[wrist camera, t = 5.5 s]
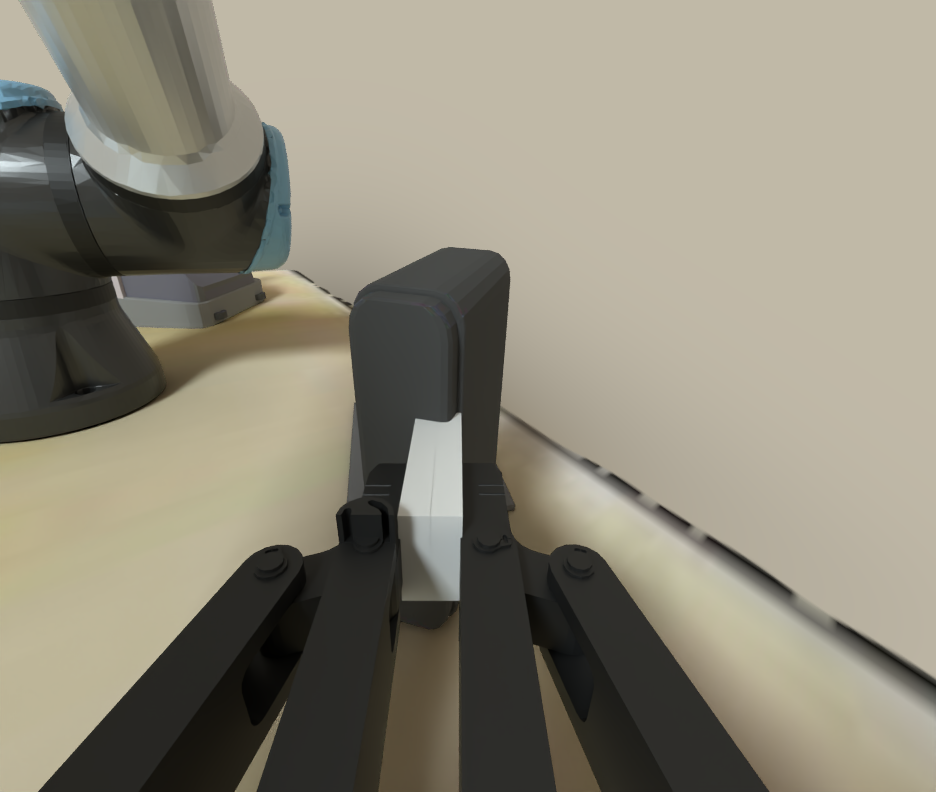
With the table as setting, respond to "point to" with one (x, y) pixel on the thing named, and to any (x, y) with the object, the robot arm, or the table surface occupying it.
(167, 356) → the table surface
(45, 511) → the table surface
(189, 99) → the robot arm
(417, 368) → the card reader
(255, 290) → the grey tapered box
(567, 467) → the table surface
